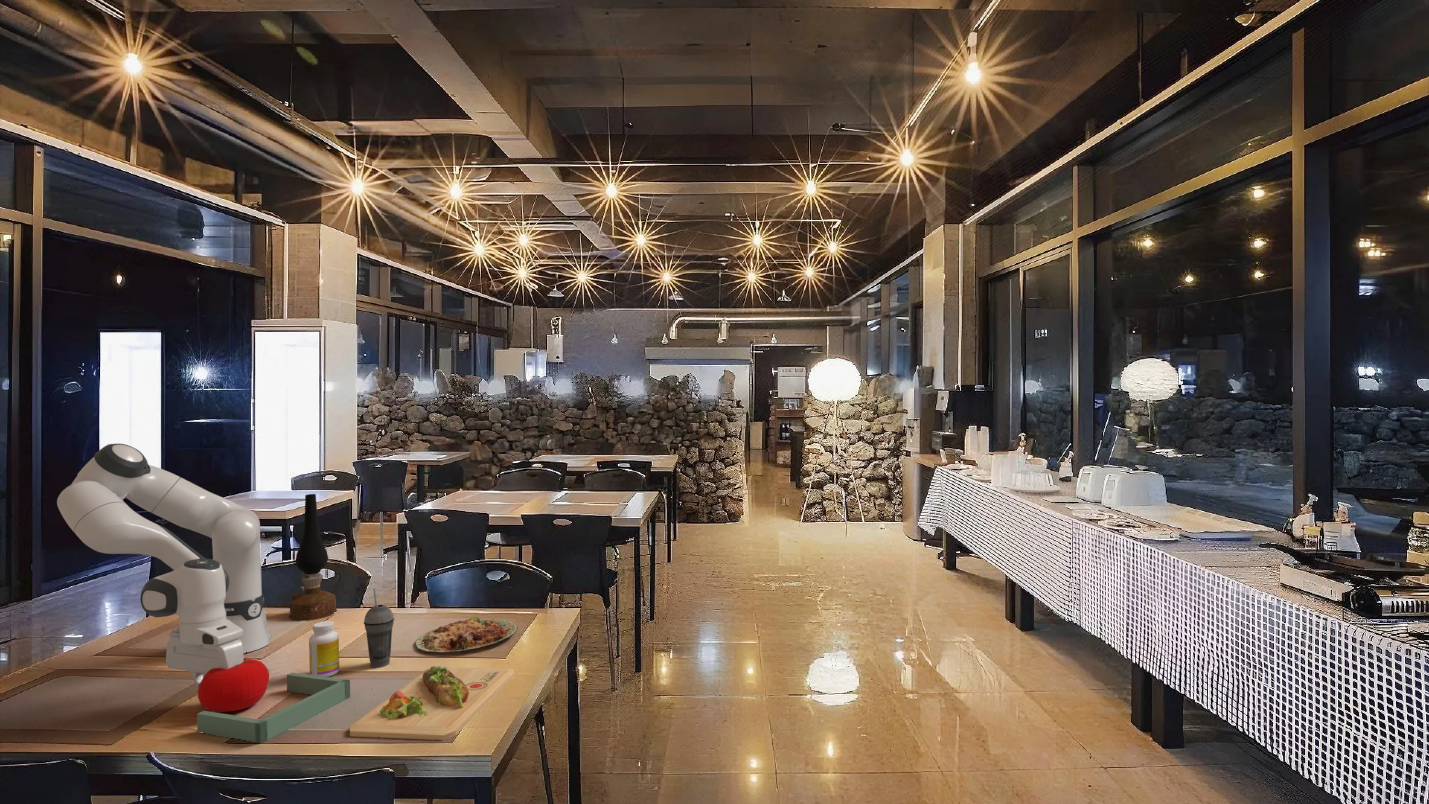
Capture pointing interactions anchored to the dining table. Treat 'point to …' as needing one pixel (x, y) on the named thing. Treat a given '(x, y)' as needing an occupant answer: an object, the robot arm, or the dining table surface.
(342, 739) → the dining table surface
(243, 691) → the tomato
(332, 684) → the corral
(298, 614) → the oil lamp
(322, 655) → the supplement bottle
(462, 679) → the cutting board
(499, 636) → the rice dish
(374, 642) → the beverage cup
